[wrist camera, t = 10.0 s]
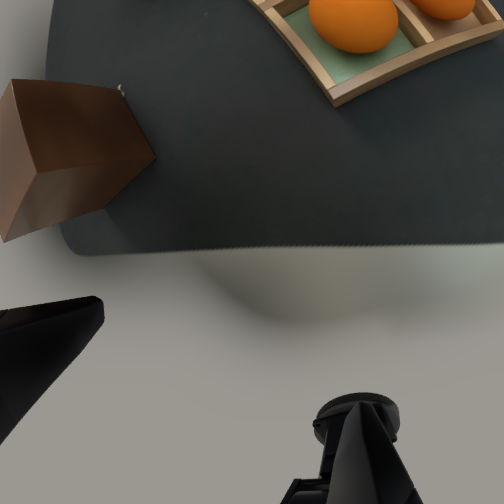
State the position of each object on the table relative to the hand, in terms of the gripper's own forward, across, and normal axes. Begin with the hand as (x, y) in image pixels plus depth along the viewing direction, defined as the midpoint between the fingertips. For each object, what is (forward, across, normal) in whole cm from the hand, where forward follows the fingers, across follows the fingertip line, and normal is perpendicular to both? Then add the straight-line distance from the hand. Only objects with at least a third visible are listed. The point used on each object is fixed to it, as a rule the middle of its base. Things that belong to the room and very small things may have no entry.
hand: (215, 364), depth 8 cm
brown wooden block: (+11, +15, -4) cm, 19 cm away
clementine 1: (+10, -1, -14) cm, 18 cm away
